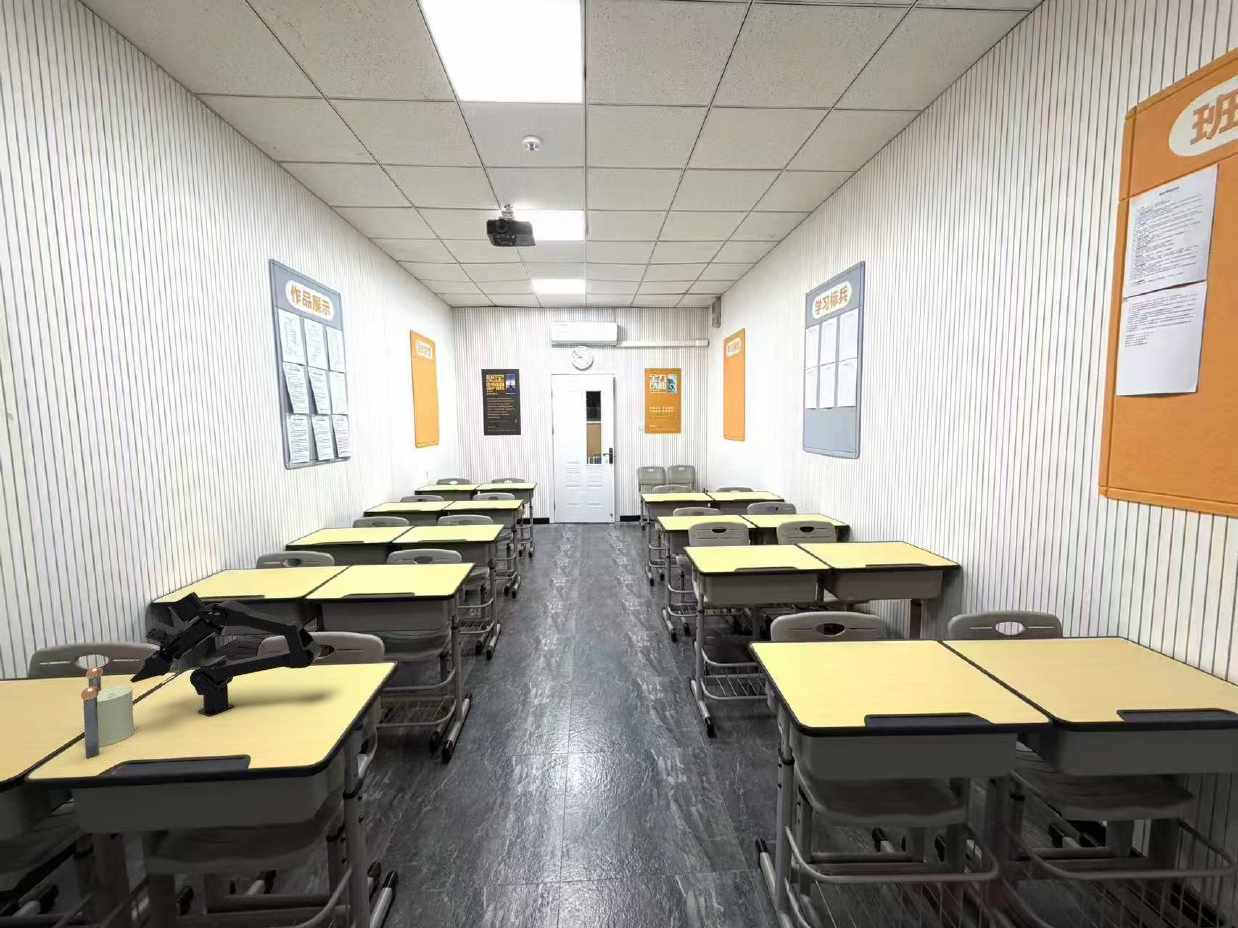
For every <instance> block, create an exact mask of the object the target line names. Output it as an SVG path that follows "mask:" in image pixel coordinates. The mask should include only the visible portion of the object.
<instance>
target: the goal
mask: <svg viewBox="0 0 1238 928" xmlns="http://www.w3.org/2000/svg"><path fill="white" fill-rule="evenodd" d="M103 672H104V671H103V668H101V667H100V666H92V667H90V668H89V669H88V670H87V671H86V674H85V677H86V678H87V679H88V680H87V681H88V687H85V688H84V689H83V690H82V691H81V693H80V697H81V700H82V701H83V703H82V704H83V722H84V723H83V725H84V748H85V749H84V751H85V753H84V754H85V759H92V758H95V757H97V756H98V755H100V747H99V733H98V707H97V696H98V695H99V691H102V675H103Z"/></svg>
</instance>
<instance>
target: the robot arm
mask: <svg viewBox="0 0 1238 928" xmlns="http://www.w3.org/2000/svg"><path fill="white" fill-rule="evenodd" d="M167 608H168V609H169V610H170V611H171V612H172V613H173V614H174V616H175V617H177V619H178V620H179V621H180V622H181V623H183V624H185V623H186V622H187V623H189V624H190V623H191V622H192V623H191V624H190V625H188V626H187V627H185V626H184V627H182V628H181V629H179V630H178V629H177V628H174V627H172V626H170V625H168V624H165V623H163V622H161V621H160V622H159V621H158V622H155V624H153V625H152V626H151V628H150V629H149V630H148V632H147V633H146V634H145V638H146V639H148V640H152V641H155V642H158V643H160V644H159V645H160V646H159V649H158V650H154V651H153V652H152V653H150V654H149V655H148V656H146V658H145V659H144V661H143V662H144V665H143V666H142V668H141V669H140V670H138V671H137V673H136V674H135V675H133V677H131V679H130V680H129V681H130V682H131V683H132V684H135V683H137V682H141V681H144V680H147V679H152V678H155V677H163V676H166V674H168V673H170V672H171V670H172V669H173V668H174V666H175V661H174V660H177V661H179V660H180V659H182V658H183V656H184V655H185V654H187V653H188V652H190V651H193V650H194V649H196V648H197V647H198V645H200V644H201V643H203V641H205V640H207V639H208V638H210V637H211V636H212V635H214V634H215V635H216V636H217V637H221V636H224V635H225V634H226V629H227V627H238V626H239V627H245V628H246V627H247V628H251V629H254V630H259V631H261V632H262V631H263V632H267V633H271V634H276V635H279V636H282V637H284V638H285V640H286V644H287V646H288V647H287V648H288V649H286V650H283V651H277V652H272V653H267V654H263V655H258V656H252V657H247V658H242V659H237V660H229V659H228V656H227V655H223V656H219V657H211V658H209V659H208V660H207V661H205V662H204V663H202V664H201V665H200V666H199V667H197V668H196V669H194V670H193V671H192V672H191V673H190V676H189V682H190V684H191V685H192V687H194V689H195V691H196V692H195V693H197V695H198V696H202V700H203V701H202V703H203V707H202V708H200V709H198V710H197V713H199V714H202V715H205V716H208V717H212V716H215V715H218V714H219V713H222V712H224V711H227V710H229V709H232V708H235V705H234V704H232V703H229V686H228V685H229V684H230V683H231V682H232V681H233V679H234V677H238V676H244V675H249V674H255V673H258V672H262V671H269V670H274V669H279V668H286V669H287V668H288V669H305V668H308V667H310V666H311V665H312V664H313V663H314V662H315V661H316V660H317V659H318V657H320V655H321V652H322V648H321V645H320V644H319V643H318V642H316V640H315V638H314V637H313V635H312V634H311V633H310V632H309V631H307V629H306V628H305V627H304V625H303V623H302V622H301V621H298V620H291V619H287V618H284V617H280V616H277V615H273V614H267V613H264V612H261V611H256V610H254V609H251V608H249V606H247V605H246V604H243V603H242V602H239V601H237V600H235V599H228V600H225V601H223V602H220V603H219V602H218V603H217V602H216V603H209V604H208V605H206V604H205V603H204V602H203V600H202V599H201V598H200V597H199V595H198V594H197V593H196V592H195V591H193V592H190V593H188V594H187V595H185V596H183V597H182V598H180V599H178V600H176V601H174V602H173V603H171V604H169V606H168V607H167ZM197 618H198V619H197ZM196 619H197V620H196ZM195 620H196V621H195ZM193 621H194V622H193ZM173 659H174V660H173Z"/></svg>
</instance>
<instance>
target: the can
mask: <svg viewBox="0 0 1238 928" xmlns="http://www.w3.org/2000/svg"><path fill="white" fill-rule="evenodd" d="M133 690H134V688H133V687H131V686H130V685H129V686H128V685H127V686H115V687H110V688H106V689H101V691H99V695H98V696H97V707H98V733H99V748H100V747H106V746H109V745H114V744H117V743H118V742H122V741H125V740H126V739H128V738H129V737H131V736H132V735H134V733H135V728H134V727H135V726H134V705H133V702H134V701H133Z"/></svg>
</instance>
